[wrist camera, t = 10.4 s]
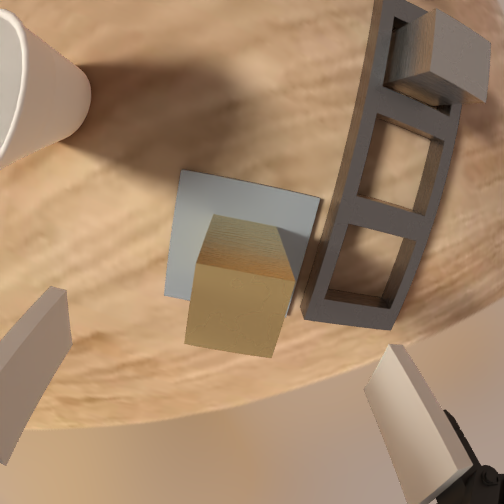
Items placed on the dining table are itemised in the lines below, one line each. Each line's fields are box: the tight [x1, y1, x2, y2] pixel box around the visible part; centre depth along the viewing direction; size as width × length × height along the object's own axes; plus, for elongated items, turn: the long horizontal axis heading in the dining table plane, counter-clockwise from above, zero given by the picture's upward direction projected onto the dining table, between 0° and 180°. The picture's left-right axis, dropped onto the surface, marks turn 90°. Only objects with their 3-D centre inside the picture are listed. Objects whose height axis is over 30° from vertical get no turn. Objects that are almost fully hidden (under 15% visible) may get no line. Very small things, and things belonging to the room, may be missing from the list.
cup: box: [0, 9, 91, 170], centre depth 14 cm, size 10×10×11 cm
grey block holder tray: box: [300, 0, 462, 330], centre depth 21 cm, size 26×8×2 cm, turn 168°
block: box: [383, 8, 491, 106], centre depth 16 cm, size 5×5×7 cm
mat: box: [164, 169, 320, 317], centre depth 24 cm, size 10×10×1 cm
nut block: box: [184, 214, 296, 358], centre depth 19 cm, size 5×5×9 cm
